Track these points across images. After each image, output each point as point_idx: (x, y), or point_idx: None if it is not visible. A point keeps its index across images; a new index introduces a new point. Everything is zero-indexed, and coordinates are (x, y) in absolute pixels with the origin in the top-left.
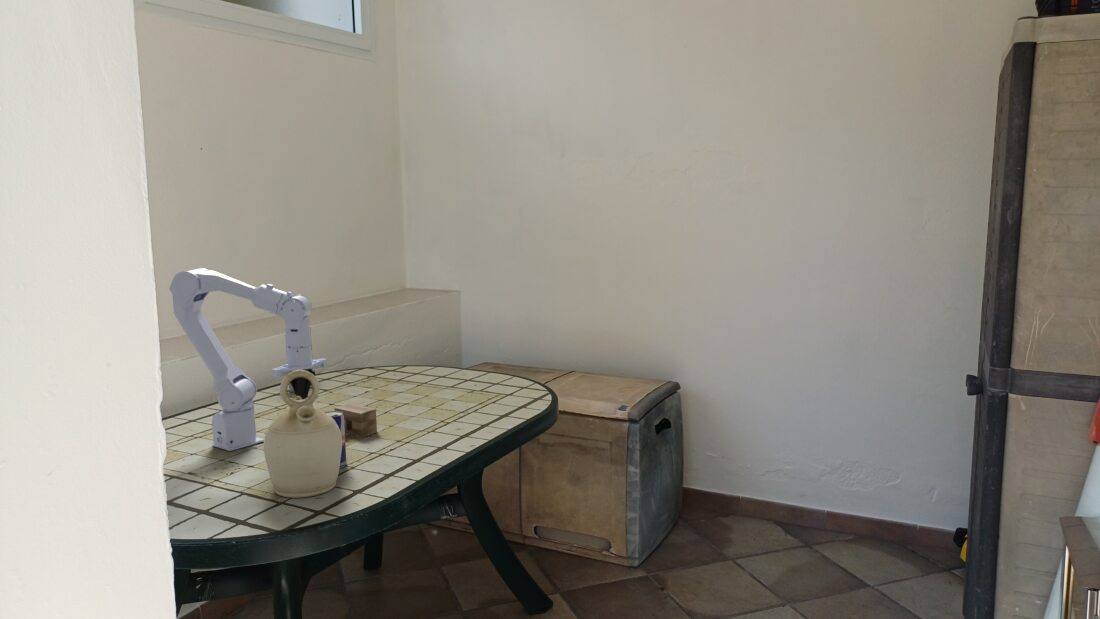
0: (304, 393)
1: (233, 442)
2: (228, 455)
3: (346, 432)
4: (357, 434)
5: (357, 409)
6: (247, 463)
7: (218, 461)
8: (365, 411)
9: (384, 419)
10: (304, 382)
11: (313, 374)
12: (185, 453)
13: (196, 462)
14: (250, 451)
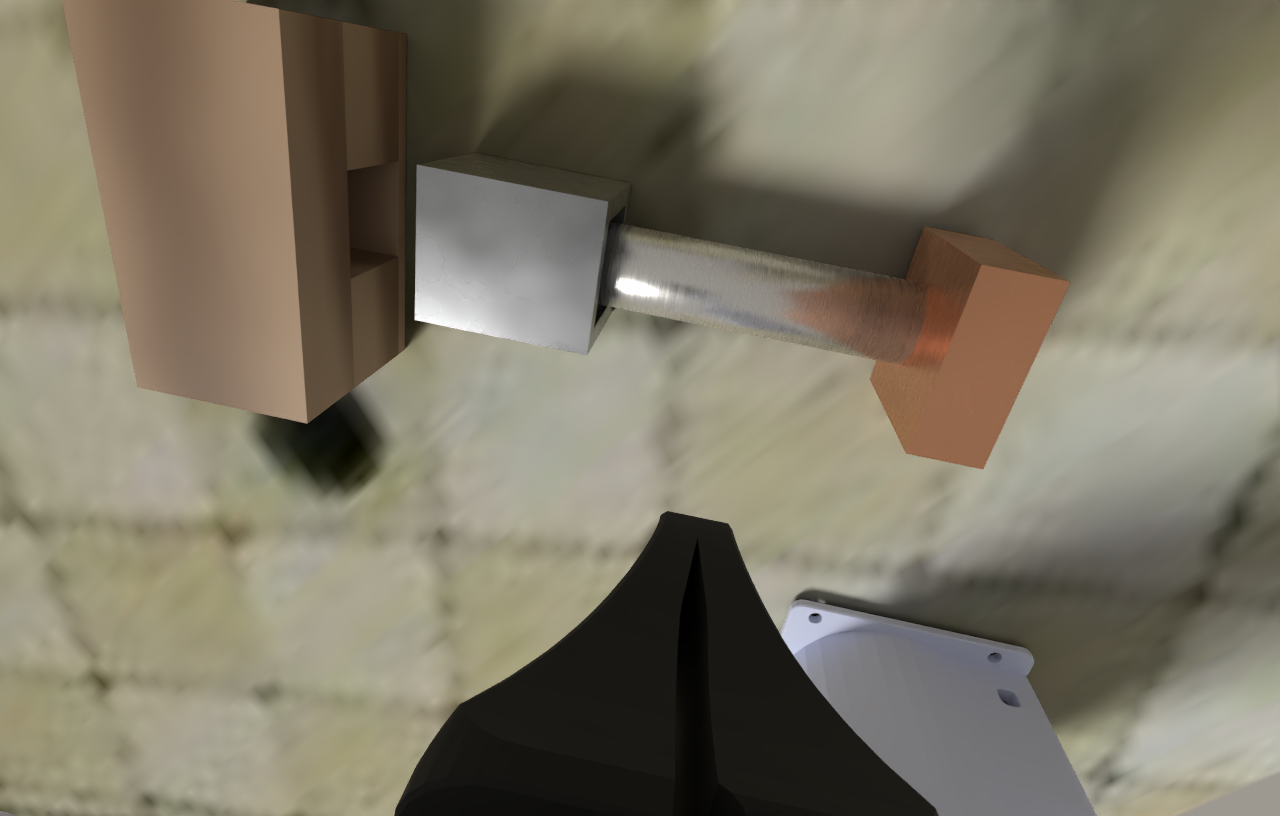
0: (712, 575)
1: (995, 688)
2: (1097, 616)
3: (461, 156)
4: (400, 91)
5: (203, 172)
6: (1257, 412)
7: (1230, 597)
8: (190, 19)
9: (21, 202)
10: (739, 698)
11: (518, 738)
12: (1104, 809)
13: (1264, 687)
14: (990, 554)
